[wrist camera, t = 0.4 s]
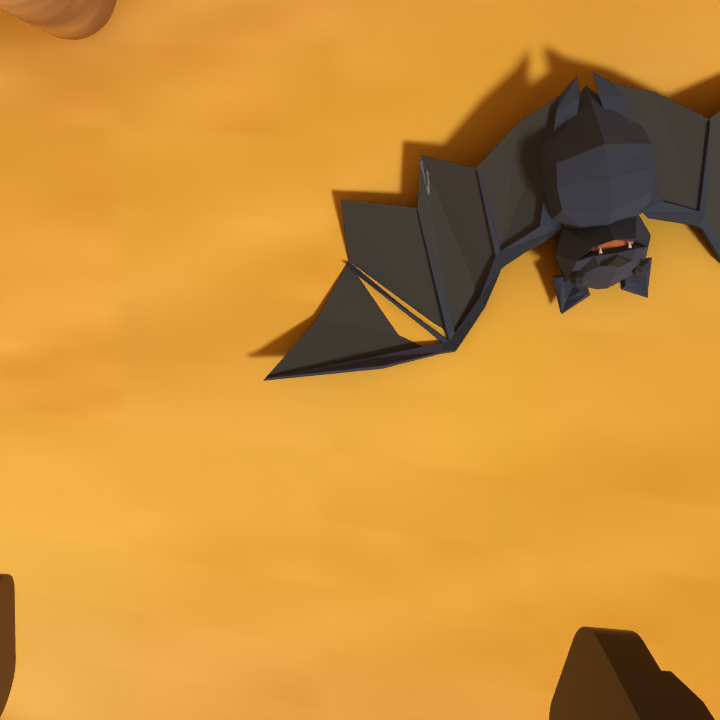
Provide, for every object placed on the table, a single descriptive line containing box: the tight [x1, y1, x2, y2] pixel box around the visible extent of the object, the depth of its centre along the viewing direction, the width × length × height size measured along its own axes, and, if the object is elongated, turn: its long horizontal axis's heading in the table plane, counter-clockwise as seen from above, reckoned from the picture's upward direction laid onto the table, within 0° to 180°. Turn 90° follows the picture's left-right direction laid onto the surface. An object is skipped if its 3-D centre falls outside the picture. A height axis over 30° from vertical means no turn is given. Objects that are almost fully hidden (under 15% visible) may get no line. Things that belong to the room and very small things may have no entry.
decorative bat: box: [263, 73, 720, 381], centre depth 27 cm, size 30×4×10 cm
